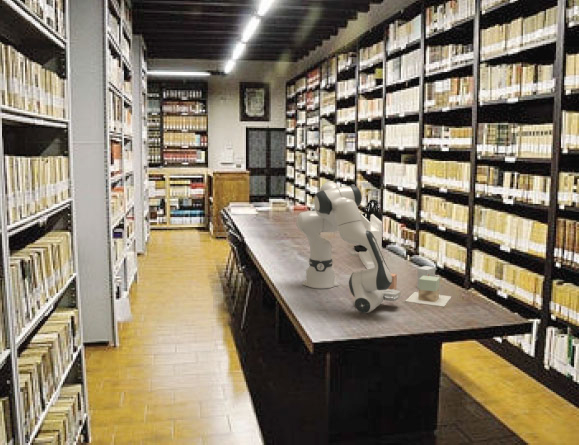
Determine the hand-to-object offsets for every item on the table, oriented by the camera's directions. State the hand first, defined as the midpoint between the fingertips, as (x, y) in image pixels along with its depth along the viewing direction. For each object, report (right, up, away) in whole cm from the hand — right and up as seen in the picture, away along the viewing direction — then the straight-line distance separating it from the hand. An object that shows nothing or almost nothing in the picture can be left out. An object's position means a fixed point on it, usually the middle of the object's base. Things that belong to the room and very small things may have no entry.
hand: (382, 289), depth 262 cm
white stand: (+5, +6, +82) cm, 82 cm away
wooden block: (+22, -5, +3) cm, 23 cm away
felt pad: (+22, -5, +3) cm, 23 cm away
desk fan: (+10, +12, +122) cm, 123 cm away
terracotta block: (+5, -4, +12) cm, 13 cm away
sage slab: (+22, 0, +2) cm, 23 cm away
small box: (+26, -2, +25) cm, 36 cm away
